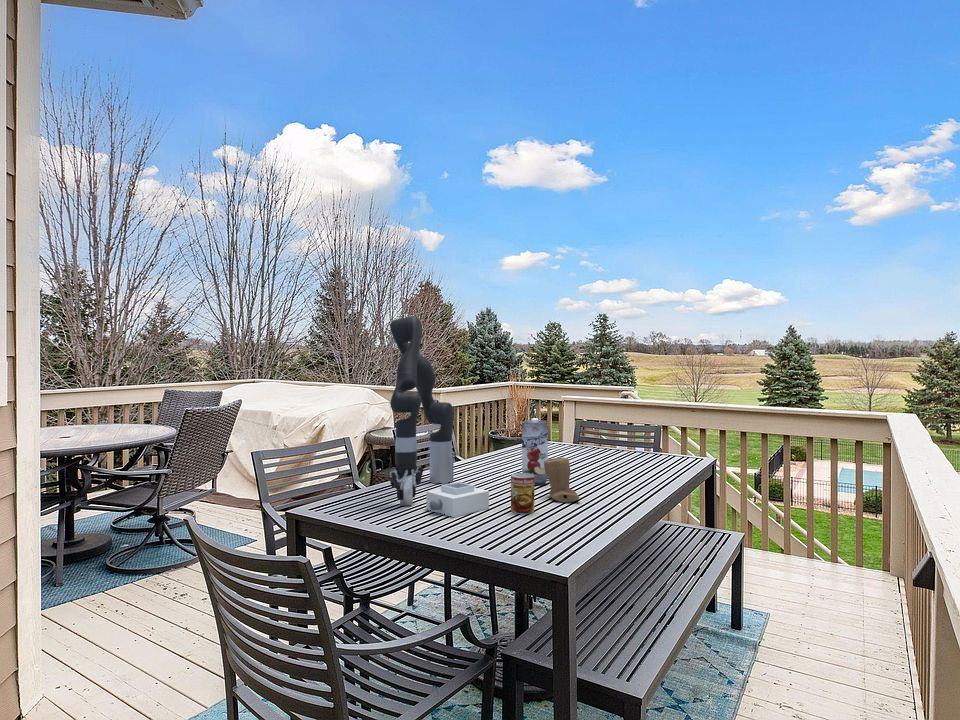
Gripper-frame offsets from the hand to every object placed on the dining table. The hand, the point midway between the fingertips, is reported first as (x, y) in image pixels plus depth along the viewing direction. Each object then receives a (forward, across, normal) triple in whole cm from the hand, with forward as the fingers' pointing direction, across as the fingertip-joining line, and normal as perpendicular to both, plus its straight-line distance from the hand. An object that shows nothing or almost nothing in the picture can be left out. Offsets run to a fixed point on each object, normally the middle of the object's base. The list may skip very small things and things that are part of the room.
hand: (406, 498), depth 196 cm
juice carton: (+3, -60, +8) cm, 60 cm away
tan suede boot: (+3, -47, +31) cm, 56 cm away
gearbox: (+2, -8, +16) cm, 18 cm away
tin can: (+2, 0, 0) cm, 2 cm away
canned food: (+3, -24, +33) cm, 41 cm away
